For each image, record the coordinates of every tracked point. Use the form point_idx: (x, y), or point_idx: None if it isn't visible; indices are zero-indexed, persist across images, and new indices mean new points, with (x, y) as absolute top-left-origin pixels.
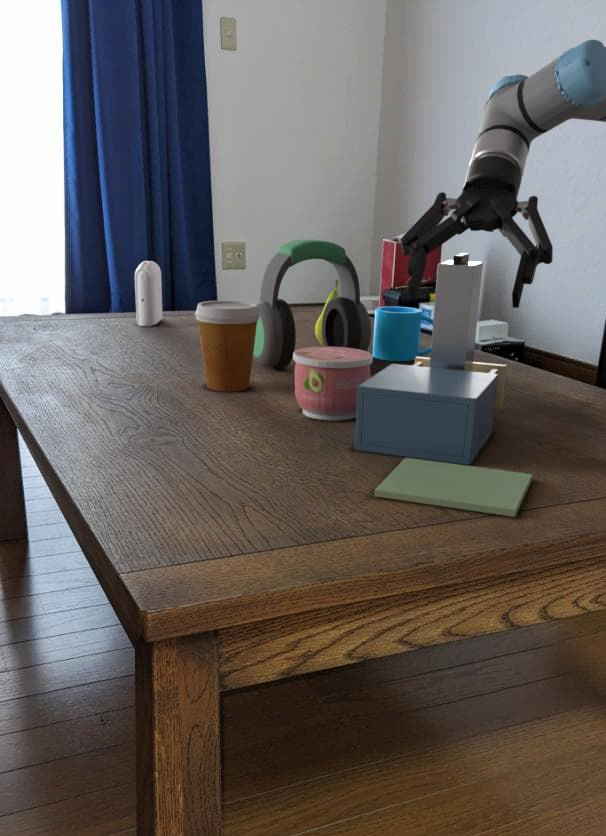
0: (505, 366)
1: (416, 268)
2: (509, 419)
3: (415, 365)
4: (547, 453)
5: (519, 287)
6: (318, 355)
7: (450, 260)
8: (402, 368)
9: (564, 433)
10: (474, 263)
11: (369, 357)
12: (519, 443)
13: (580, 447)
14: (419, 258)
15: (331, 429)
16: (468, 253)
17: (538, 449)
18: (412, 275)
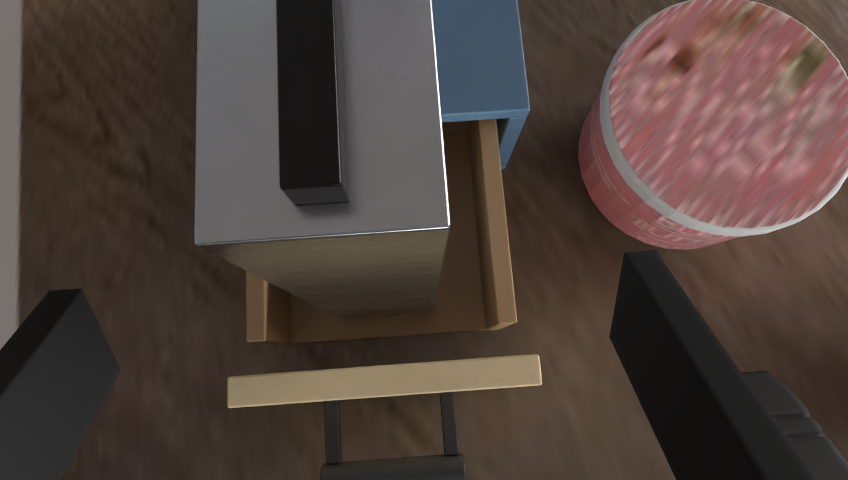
0: (227, 380)
1: (694, 337)
2: (241, 346)
3: (499, 251)
4: (123, 100)
5: (25, 321)
6: (753, 57)
7: (427, 206)
8: (476, 60)
9: (97, 279)
10: (226, 99)
11: (610, 110)
12: (188, 143)
13: (57, 178)
14: (738, 408)
15: (587, 49)
16: (282, 178)
17: (144, 119)
18: (682, 299)
